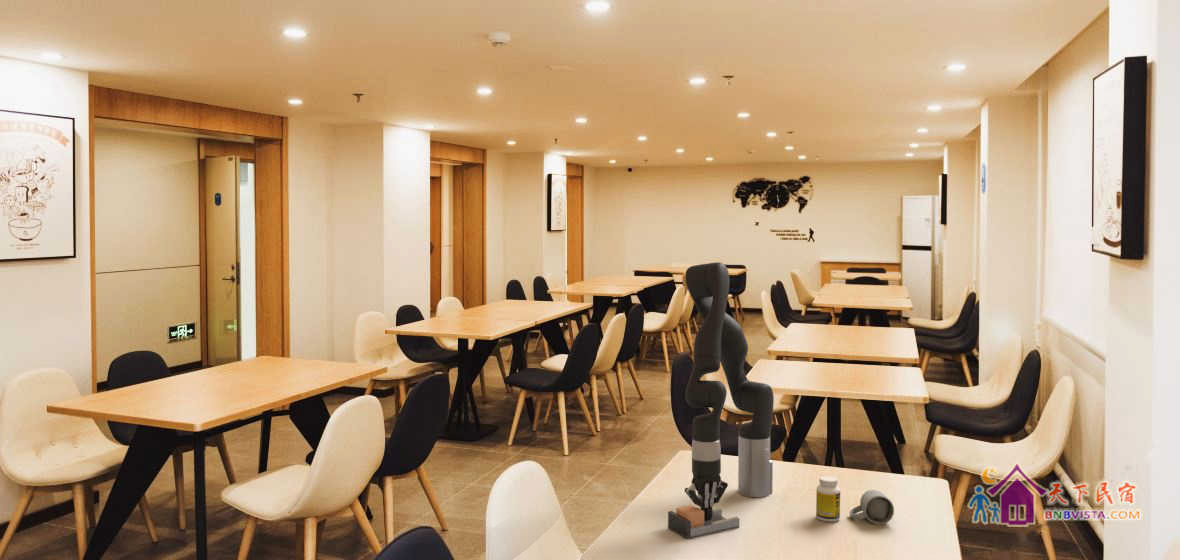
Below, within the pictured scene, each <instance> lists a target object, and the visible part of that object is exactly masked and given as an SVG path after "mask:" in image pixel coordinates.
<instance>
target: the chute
mask: <svg viewBox="0 0 1180 560" xmlns="http://www.w3.org/2000/svg"><path fill="white" fill-rule="evenodd" d="M712 511H713V513H712V514H713V516H712V518H711V520H710V521H704V524H702V525H697V526H693V527H691V521H689V520H687V519H686V518H684V517H682V516H680V515H678V514H677V513H676V512H675V511H673V510H670V511H668V512H667V529H669V530H670V531H672V532H673V533H674V534H677V535H679V536H680V537H682V538H684V540H691V539H695V538H701V537H704V536H708V535H712V534H717V533H721V532H724V531H725V532H727V531H730V530H734V529H738V528H740V517H738V516H733V517H729V518H726V517H724V516H723V509H722V508H721V507H719V508H718V507H717V508H712Z"/></svg>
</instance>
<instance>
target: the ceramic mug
mask: <svg viewBox="0 0 1180 560" xmlns="http://www.w3.org/2000/svg"><path fill="white" fill-rule="evenodd" d="M859 503H860V504H859V505H858V506H855V507H853V508H852V509H851V510H849V516H850V518H851V520H853V521H854V520H855V521H858V520H862V519H865V518H866V519H867V521H869V522H870V523H872V524H874V525H880V526H881V525H885V524H887V523H889V522H890V521H891V520H892V519H893V517H894V514H895V506H894V504H893V502H892V501H891V500H890V499H889V498H888V496H886V495H885V493H883V492H881V491H879V490H878V489H877V490H875V489H871V490H866V491H865V492H864V493H863V494H862V495H861V497H860V501H859Z"/></svg>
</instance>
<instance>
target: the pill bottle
mask: <svg viewBox="0 0 1180 560" xmlns="http://www.w3.org/2000/svg"><path fill="white" fill-rule="evenodd" d="M815 495H816V505H815V507H816V508H815V510H816V512H815V516H816V519H818V520H819V521H823V522H827V523H833V522H834V523H835V522H838V521H840V518H841V489H840V488H839V486H838V478H837V477H835V476H830V475H823V476H820V477H819V484H818V486H817V487H816V494H815Z"/></svg>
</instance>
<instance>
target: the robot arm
mask: <svg viewBox="0 0 1180 560" xmlns="http://www.w3.org/2000/svg"><path fill="white" fill-rule="evenodd" d="M684 275H685V276H684V277H685V284H686V285H685V286H686V288H687V291H688V293H689V295H690V297H691V299H692V301H693V303H694V305H695V307H696V308H697V310H698V312H699V314H700V316H701V317H702V320H703V322H702V324H701V325H700V327H699V329H698V330H697V332H696V335H695V338H694V343H693V361H692V362H693V364H692V369H691V374H690V377H689V380H688V383H687V385H686V390H685V395H684V397H685V401H686V403H687V405H689V406H690V407H693V408H707V409H708V408H709V409H712V410H711V411H710V412H709V413H705V414H700V415H697V416H695V417H694V418H693V419H692V443H691V473H692V479H691V484H690V486H689V487H685V488H684V492H685V493H686V495H687V497H688V498H690V500H691V502H692V503H693V504H694V505H695V506H698V507H700V509H701V510H703V511H704V521H710V520H711V518H712V516H713V514H712V513H713V511H712V509H713V507H714V505H715V504H719V502H720V500H721V499H722V497H723V495H724V493H725V492H726V490H727V488H728V486H729V484H728V483H727V482H726V481H723V480H722V478H721V473H722V470H721V469H722V468H721V467H722V465H721V464H722V459H721V458H722V456H721V455H722V451H721V448H722V447H721V441H720V433H721V432H720V431H721V429H720V427H721V418H722V417H721V416H722V412H723V409H724V405H725V403H726V399H727V394H728V393H727V392H728V390H727V387H726V385H725V384H724V383H723V382H722V381H720V380H707V379H706V380H701V378H702V377H703V376H704V375H708V374H713V373H716V372H719V370H720V369H721V366H722V370H723V372H724V375H725V376H724V377H725V378H726V381H727V385H728V389H729V392H730V397H731V399H732V402H733V404H734V406H735V408H736V409H737V410H739V411H741V412H745V413H749V414H752V420H751V421H750V422H745V423H742V424H740V425H738V426H739V427H738V452H737V453H738V454H737V455H738V457H737V458H738V459H737V460H738V468H737V470H738V473H737V474H738V477H737V478H738V479H737V481H738V483H737V484H738V487H737V489H738V490H737V491H738V493H739V494H740V495H743V496H744V495H745V496H744V497H750V498H763V497H767V496H769V495H770V494H771V493H773V478H774V477H773V470H774V469H773V468H774V467H773V464H774V463H773V461H772V460H771V431H772V426H773V421H774V420H773V418H774V417H773V416H774V401H775V399H774V397H775V396H774V392H773V391H774V390H773V388H772V386H771V385H769V384H768V383H764V382H763V383H762V382H758V381H751V380H749V379H748V377H747V375H746V373H745V369H744V365H745V361H746V358H747V356H748V352H749V344H748V342H747V339H746V336H745V333H744V331H743V328H742V327H741V325H740V324H739V323H738V322H737V320H736V319H735V318H733V317H732V316H731V315H729V314H728V313H726V311H727V306H728V305H727V303H728V297H729V291H730V272H729V269H728V268H727V266H726V264H724V263H722V262H718V261H717V262H709V263H701V264H696V265H691V266H689V267H688V268H687V269H686V271H685V274H684Z"/></svg>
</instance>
